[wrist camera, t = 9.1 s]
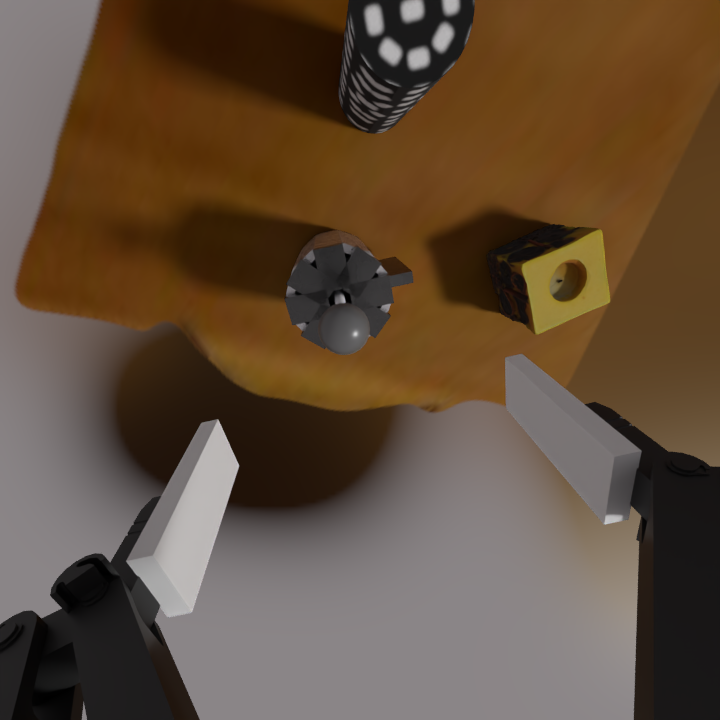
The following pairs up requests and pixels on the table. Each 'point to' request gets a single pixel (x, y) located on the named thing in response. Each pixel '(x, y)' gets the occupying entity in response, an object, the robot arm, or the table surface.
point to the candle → (550, 276)
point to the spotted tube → (397, 55)
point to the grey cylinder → (341, 282)
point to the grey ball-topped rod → (343, 324)
